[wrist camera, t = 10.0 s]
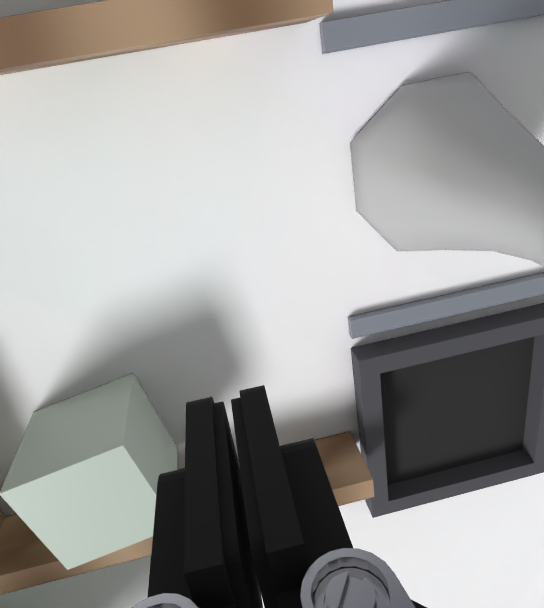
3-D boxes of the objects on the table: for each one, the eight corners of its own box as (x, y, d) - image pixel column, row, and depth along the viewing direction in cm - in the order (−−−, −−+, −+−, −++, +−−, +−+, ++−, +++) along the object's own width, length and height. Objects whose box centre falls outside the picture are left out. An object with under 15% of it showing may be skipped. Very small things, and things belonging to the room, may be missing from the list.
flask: (523, 196, 22) (753, 279, 13) (384, 274, 23) (516, 404, 14) (480, 36, 19) (748, 7, 10) (319, 132, 19) (438, 184, 11)
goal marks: (594, -24, 19) (603, -26, 18) (556, 286, 25) (561, 290, 24) (319, 23, 18) (322, 22, 17) (349, 334, 24) (352, 338, 23)
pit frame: (554, 300, 25) (571, 310, 24) (535, 456, 30) (548, 471, 29) (350, 348, 24) (358, 361, 23) (365, 501, 29) (372, 517, 28)
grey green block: (133, 372, 23) (123, 445, 18) (177, 445, 25) (177, 526, 21) (33, 411, 23) (-1, 494, 18) (87, 481, 25) (67, 569, 21)
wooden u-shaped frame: (301, -17, 17) (329, -36, 14) (351, 447, 27) (374, 496, 24) (-327, 87, 15) (-456, 91, 12) (-25, 542, 25) (-54, 608, 22)
